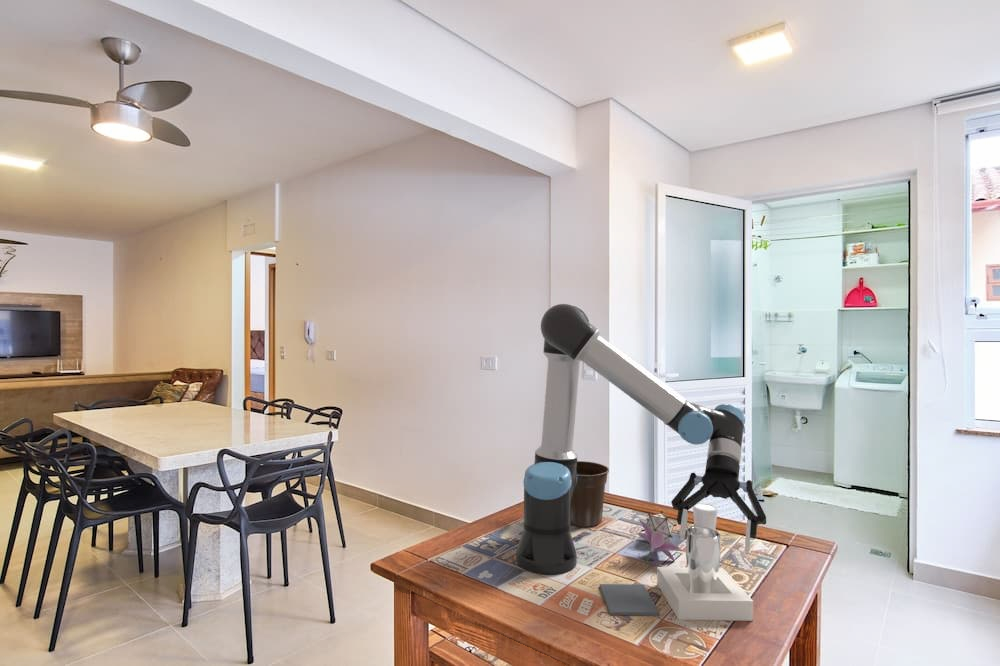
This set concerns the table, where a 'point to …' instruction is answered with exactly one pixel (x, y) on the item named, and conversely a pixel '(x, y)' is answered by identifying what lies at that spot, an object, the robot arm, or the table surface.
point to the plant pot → (588, 494)
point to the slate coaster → (628, 599)
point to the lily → (657, 541)
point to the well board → (704, 597)
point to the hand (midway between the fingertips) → (713, 544)
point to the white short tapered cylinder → (705, 515)
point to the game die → (660, 525)
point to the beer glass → (702, 559)
